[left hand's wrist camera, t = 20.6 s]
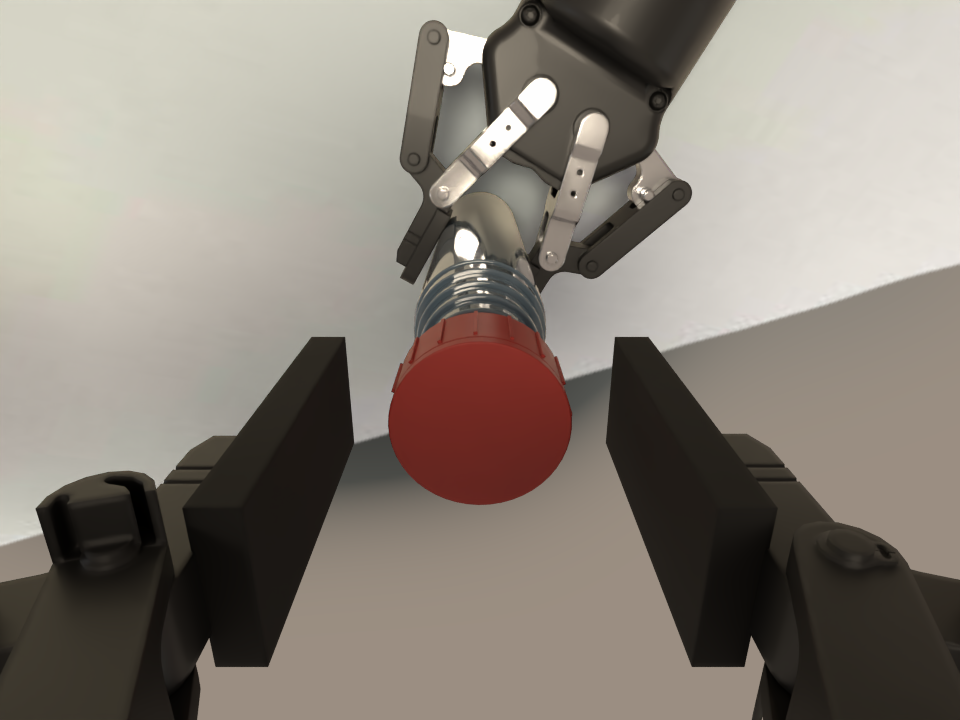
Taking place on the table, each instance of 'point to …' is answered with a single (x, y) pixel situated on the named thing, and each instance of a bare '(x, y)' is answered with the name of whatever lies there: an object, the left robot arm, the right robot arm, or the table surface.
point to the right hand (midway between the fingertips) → (452, 300)
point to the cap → (479, 410)
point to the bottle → (480, 268)
